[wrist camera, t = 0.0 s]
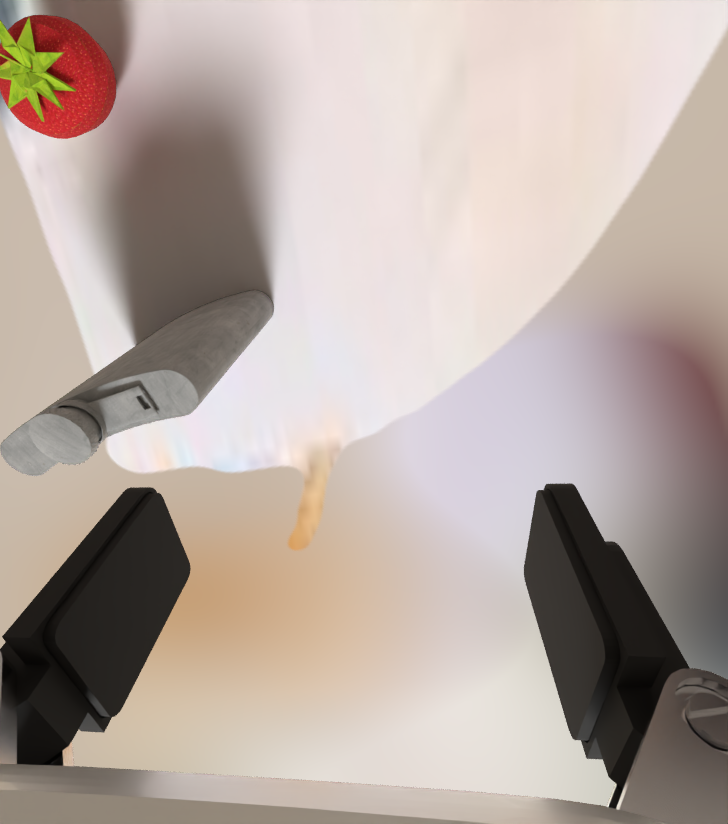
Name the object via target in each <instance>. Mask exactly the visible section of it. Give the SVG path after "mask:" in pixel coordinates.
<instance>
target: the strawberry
mask: <svg viewBox="0 0 728 824" xmlns="http://www.w3.org/2000/svg"><path fill="white" fill-rule="evenodd" d="M0 39H1V44H0V91H1V94H2V96H3V98H4V100H5V102H6V104H7V106H8V108H9V109H10V110H11V112H12V113H13V114H14V115H15V117H16V118H17V119H18V120H19V121H20V122H22V123H23V124H24V125H26V126H27V127H29V128H31V129H33V130H35V131H37V132H39V133H42V134H44V135H47V136H50V137H54V138H63V139H68V138H72V137H77V136H79V135H81V134H84V133H86V132H89V131H91V130H93V129H95V128H97V127H98V126H99V125H100V124H102V123H103V122H104V120H105V119H106V118H107V117H108V115H109V113H110V111H111V110H112V107H113V104H114V101H115V97H116V80H115V75H114V70H113V67H112V65H111V62H110V60H109V58H108V56H107V55H106V53H105V51H104V50H103V49H102V48H101V47H100V46H99V44H98V43H97V42H96V41H95V40H94V39H93V38H92V37H91V36H90V35H89V34H88V33H87V32H86V31H85V30H84V29H82V28H81V27H80V26H79V25H77V24H76V23H74V22H72V21H70V20H68V19H65V18H61V17H57V16H48V15H33V16H29V17H25V18H23V19H21V20H19V21H18V22H16V23H15V24H14V25H13V26H12V27H11V28H10V29H9V30H7V29H6V28H5V26H4V25H3V23H2V22H1V20H0Z"/></svg>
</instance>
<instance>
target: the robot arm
mask: <svg viewBox="0 0 728 824" xmlns="http://www.w3.org/2000/svg"><path fill="white" fill-rule="evenodd" d="M189 574H190V563H189V560H188V558H187V555H186V553H185V550H184V548H183V546H182V544H181V541H180V538H179V536H178V533H177V531H176V528H175V526H174V524H173V521H172V519H171V516H170V514H169V511H168V509H167V507H166V504H165V502H164V499H163V497H162V495H161V494H159V493H157V492H156V490H155V489H153V488H128V489H126V490H125V491H124V492H123V494H122V495H121V496H120V497H119V498H118V499H117V500H116V502H115V503H114V504H113V505H112V506H111V508H110V509H109V510H108V511H107V512H106V514H105V515H104V516H103V517H102V518H101V520H100V521H99V522H98V523H97V524H96V525H95V527H94V528H93V529H92V530H91V531H90V533H89V534H88V535H87V536H86V537H85V539H84V540H83V541H82V542H81V543H80V545H79V546H78V547H77V548H76V549H75V551H74V552H73V553H72V554H71V555H70V557H69V558H68V559H67V560H66V561H65V562H64V564H63V565H62V566H61V567H60V569H59V570H58V571H57V572H56V573H55V574H54V576H53V577H52V578H51V579H50V581H49V582H48V583H47V584H46V585H45V586H44V588H43V589H42V590H41V591H40V592H39V594H38V595H37V596H36V597H35V598H34V599H33V601H32V602H31V603H30V604H29V606H28V607H27V608H26V609H25V610H24V611H23V613H22V614H21V615H20V616H19V617H18V619H17V620H16V621H15V622H14V623H13V625H12V626H11V627H10V628H9V629H8V630H7V632H6V633H5V634H4V635H3V636H2V637H3V639H4V640H5V641H6V643H5V644H4V645H3V646H2V648H1V649H0V824H728V679H725V678H723V677H721V676H719V675H717V674H714V673H712V672H709V671H705V670H701V669H696V668H689V666H688V664H687V663H686V661H685V659H684V658H683V656H682V654H681V652H680V650H679V649H678V647H677V645H676V643H675V641H674V640H673V638H672V636H671V634H670V633H669V631H668V629H667V627H666V626H665V624H664V622H663V620H662V619H661V617H660V616H659V613H658V612H657V610H656V608H655V607H654V605H653V603H652V601H651V599H650V597H649V596H648V594H647V592H646V591H645V589H644V587H643V585H642V584H641V582H640V580H639V578H638V576H637V575H636V573H635V571H634V569H633V568H632V566H631V564H630V562H629V561H628V559H627V557H626V555H625V553H624V552H623V550H622V549H621V548H620V546H619V545H617V543H615V542H605V541H604V539H603V537H602V536H601V534H600V532H599V530H598V528H597V526H596V524H595V522H594V520H593V519H592V517H591V515H590V513H589V511H588V509H587V507H586V505H585V504H584V502H583V500H582V498H581V496H580V494H579V492H578V490H577V489H576V487H575V486H574V485H573V484H546V486H545V488H544V490H538V491H537V493H536V499H535V505H534V511H533V517H532V523H531V529H530V535H529V541H528V547H527V553H526V559H525V565H524V577H525V582H526V586H527V589H528V593H529V596H530V599H531V602H532V606H533V609H534V613H535V616H536V619H537V623H538V626H539V629H540V633H541V637H542V640H543V643H544V647H545V650H546V654H547V657H548V660H549V663H550V667H551V671H552V674H553V677H554V681H555V684H556V687H557V691H558V694H559V698H560V701H561V705H562V708H563V711H564V715H565V718H566V722H567V725H568V728H569V731H570V733H571V736H572V738H573V739H575V740H581V742H582V745H583V748H584V751H585V755H586V758H587V759H603V761H604V764H605V767H606V770H607V773H608V776H609V777H610V778H611V779H612V780H613V781H614V782H615V786H614V788H613V791H612V794H611V796H610V799H609V802H608V804H607V807H605V806H601V805H593V804H587V803H580V802H573V801H566V800H559V799H550V798H539V797H528V796H516V795H504V794H493V793H483V792H471V791H458V790H444V789H443V790H442V789H429V788H414V787H399V786H384V785H371V784H355V783H341V782H326V781H310V780H295V779H279V778H264V777H263V778H262V777H248V776H231V775H215V774H198V773H183V772H166V771H165V772H164V771H148V770H131V769H113V768H96V767H79V766H74V759H73V748H72V740H73V738H74V736H75V734H76V733H77V731H78V729H80V730H81V731H88V732H104V731H105V729H106V727H107V726H108V724H109V722H110V720H111V718H112V717H114V716H115V715H117V714H118V713H119V712H120V710H121V709H122V707H123V705H124V703H125V701H126V699H127V697H128V695H129V693H130V691H131V689H132V687H133V685H134V684H135V682H136V680H137V678H138V676H139V674H140V672H141V669H142V668H143V666H144V664H145V662H146V660H147V658H148V656H149V654H150V652H151V650H152V648H153V646H154V644H155V642H156V640H157V639H158V636H159V635H160V633H161V631H162V629H163V627H164V625H165V623H166V621H167V619H168V617H169V615H170V613H171V611H172V609H173V607H174V605H175V603H176V601H177V599H178V597H179V595H180V593H181V592H182V589H183V587H184V586H185V584H186V582H187V580H188V577H189Z"/></svg>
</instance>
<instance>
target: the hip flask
mask: <svg viewBox="0 0 728 824" xmlns="http://www.w3.org/2000/svg"><path fill="white" fill-rule="evenodd" d="M273 311H274V307H273V303H272V301H271V299H270V298H269V297H268V296H267V295H266V294H265V293H263V292H261V291H257V290H252V291H247V292H243V293H239V294H235V295H231V296H228V297H225V298H222V299H219V300H216V301H213V302H211V303H208V304H206V305H203V306H201V307H199V308H197V309H195V310H192V311H190V312H188V313H186V314H184V315H182V316H180V317H179V318H177V319H175V320H173V321H172V322H170V323H168V324H167V325H165V326H164V327H162V328H161V329H159V330H158V331H156V332H155V333H154V334H152V335H151V336H149V337H148V338H146V339H145V340H144V341H142V342H141V343H139V344H138V345H136V346H135V347H133V348H132V349H131V350H129V351H128V352H126V353H125V354H123V355H122V356H121V357H119V358H118V359H116V360H115V361H113V362H112V363H111V364H109V365H108V366H106V367H105V368H103V369H102V370H100V371H99V372H98V373H96V374H95V375H93V376H92V377H91V378H89V379H88V380H86V381H85V382H83V383H82V384H80V385H79V386H78V387H76V388H75V389H73V390H72V391H70V392H69V393H67V394H66V395H65V396H63V397H62V398H60V399H59V400H57V401H56V402H55V403H53V404H52V405H50V406H49V407H48V408H46V409H45V410H43V411H42V412H40V413H39V414H37V415H36V416H35V417H33V418H32V419H30V420H29V421H27V422H26V423H24V424H23V425H22V426H20V427H19V428H18V429H17V430H15V431H14V432H13V433H12V434H11V435H9V436H8V437H7V438H6V439H5V440H4V441H3V442H2V443H1V447H0V450H1V454H2V456H3V458H4V459H5V461H6V462H7V463H8V464H9V465H10V466H11V467H12V468H14V469H15V470H17V471H19V472H21V473H24V474H27V475H32V476H38V475H42V474H44V473H45V472H47V471H48V470H49V469H50V468H51V467H53V466H54V465H56V464H57V463H58V462H60V463H63V464H68V465H76V464H81V463H83V462H85V461H86V460H88V459H89V457H90V456H92V455H93V454H94V452H96V451H97V448H98V445H99V444H100V443H101V442H102V441H103V440H104V439H105V438H106V437H109V436H111V435H113V434H116V433H119V432H121V431H124V430H127V429H130V428H133V427H137V426H140V425H143V424H147V423H151V422H155V421H159V420H164V419H169V418H175V417H181V416H185V415H188V414H190V413H192V412H193V411H194V410H195V409H196V408H197V407H198V405H199V404H200V403H201V402H202V401H203V399H204V398H205V397H206V396H207V394H208V393H209V392H210V391H211V390H212V388H213V387H214V386H215V385H216V384H217V382H218V381H219V380H220V379H221V378H222V376H223V375H224V374H225V373H226V372H227V370H228V369H229V368H230V367H231V366H232V364H233V363H234V362H235V361H236V360H237V358H238V357H239V356H240V355H241V353H242V352H243V351H244V350H245V349H246V347H247V346H248V345H249V344H250V343H251V341H252V340H253V339H254V338H255V337H256V335H257V334H258V333H259V332H260V331H261V329H262V328H263V327H264V326H265V325H266V323H267V322H268V321H269V320H270V318H271V317H272V315H273ZM99 441H100V442H99Z"/></svg>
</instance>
